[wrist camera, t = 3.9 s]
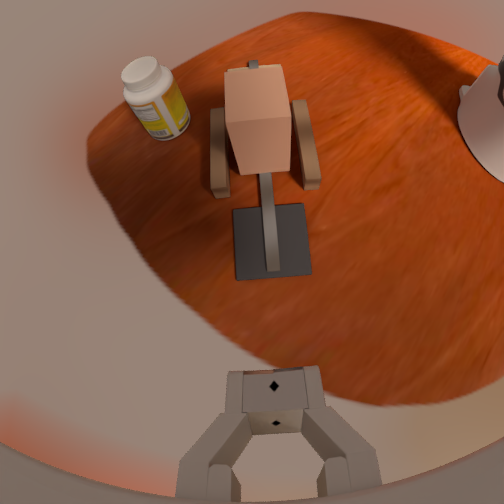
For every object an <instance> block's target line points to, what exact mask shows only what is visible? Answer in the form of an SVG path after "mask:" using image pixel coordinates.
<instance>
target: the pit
mask: <svg viewBox="0 0 504 504" xmlns="http://www.w3.org/2000/svg"><path fill="white" fill-rule="evenodd" d="M275 217H276V227H277V238H278V249H279V261H280V271H274V272H267V261H266V249H265V236H264V223H263V211H262V207H256V208H245V209H235V210H233V220H234V239H235V258H236V275H237V281H239V280H252V279H265V278H277V277H289V276H300V275H311V274H312V271H311V261H310V251H309V242H308V234H307V225H306V217H305V209H304V203H303V204H290V205H278V206H275Z"/></svg>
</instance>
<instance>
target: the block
mask: <svg viewBox="0 0 504 504" xmlns="http://www.w3.org/2000/svg"><path fill="white" fill-rule="evenodd" d="M224 77H225V121H226V126H227V130H228V133H229V137H230V140H231V143H232V147H233V150H234V154H235V157H236V161H237V164H238V168H239V171H240V175H248V174H258V173H269V172H280V171H290V150H291V111H290V106H289V100H288V95H287V90H286V85H285V80H284V75H283V70H282V67H268V68H257V69H247V70H239V71H231V72H224Z"/></svg>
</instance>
